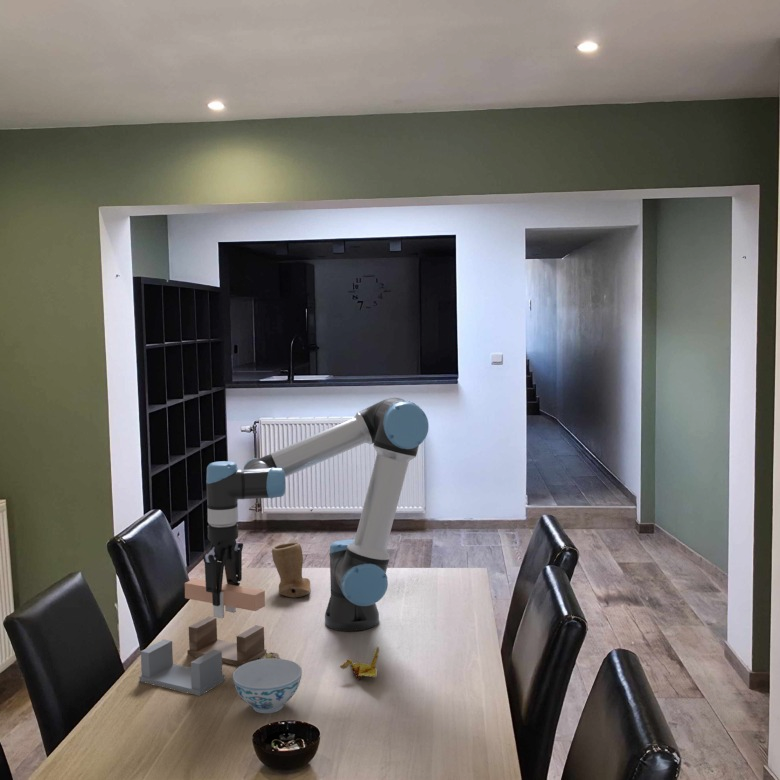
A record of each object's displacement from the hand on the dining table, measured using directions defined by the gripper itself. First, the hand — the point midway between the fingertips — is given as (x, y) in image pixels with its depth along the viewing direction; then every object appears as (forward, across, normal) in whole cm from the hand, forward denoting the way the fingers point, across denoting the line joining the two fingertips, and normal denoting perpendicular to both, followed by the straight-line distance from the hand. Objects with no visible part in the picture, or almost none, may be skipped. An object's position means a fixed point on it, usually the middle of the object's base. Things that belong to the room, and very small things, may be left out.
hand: (224, 614), depth 208 cm
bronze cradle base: (+11, 0, 0) cm, 11 cm away
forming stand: (+11, +17, 0) cm, 20 cm away
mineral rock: (+11, +3, +14) cm, 18 cm away
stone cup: (+11, -48, -12) cm, 51 cm away
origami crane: (+11, -3, +39) cm, 40 cm away
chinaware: (+11, +19, +26) cm, 34 cm away
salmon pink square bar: (-3, 0, 0) cm, 3 cm away
